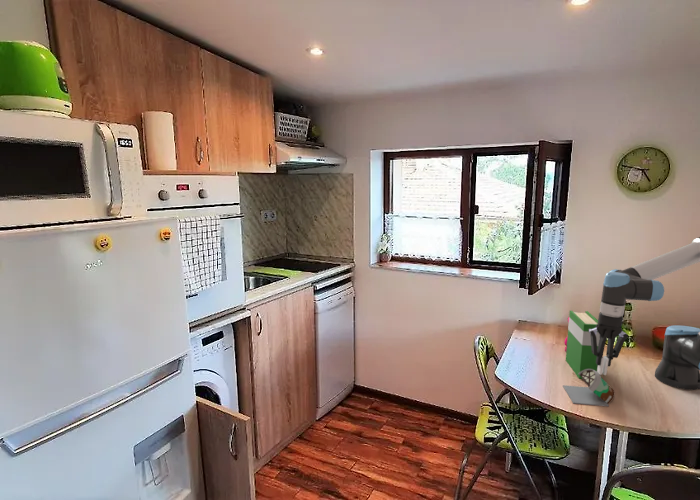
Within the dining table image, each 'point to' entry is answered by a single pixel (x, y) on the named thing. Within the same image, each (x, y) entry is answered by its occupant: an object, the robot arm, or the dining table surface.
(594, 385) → the food container
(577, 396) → the mat
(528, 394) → the dining table surface
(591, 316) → the hardback book
